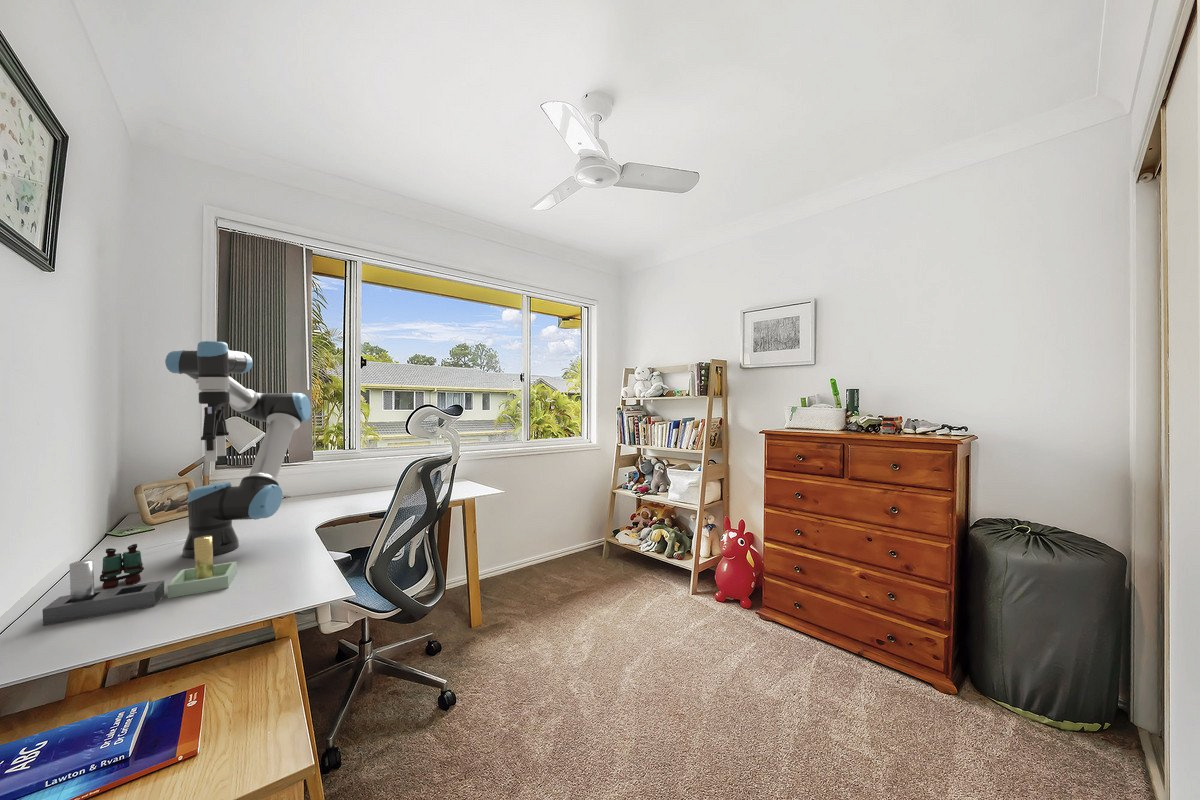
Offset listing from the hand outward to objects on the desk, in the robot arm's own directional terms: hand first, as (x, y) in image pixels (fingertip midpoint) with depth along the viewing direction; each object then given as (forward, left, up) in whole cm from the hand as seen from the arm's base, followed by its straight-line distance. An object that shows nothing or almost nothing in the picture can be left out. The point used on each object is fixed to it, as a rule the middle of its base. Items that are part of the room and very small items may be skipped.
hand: (216, 458), depth 147 cm
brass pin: (+14, -1, -34) cm, 37 cm away
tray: (+14, -1, -35) cm, 37 cm away
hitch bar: (+21, -19, -35) cm, 45 cm away
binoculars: (+1, -22, -35) cm, 41 cm away
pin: (+21, -24, -35) cm, 47 cm away
